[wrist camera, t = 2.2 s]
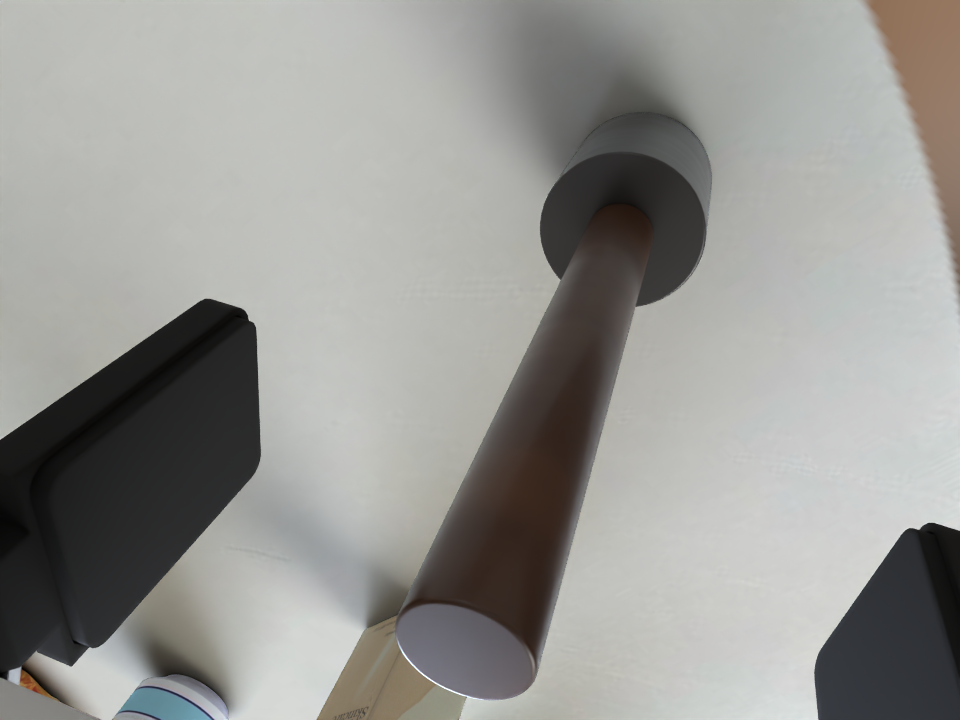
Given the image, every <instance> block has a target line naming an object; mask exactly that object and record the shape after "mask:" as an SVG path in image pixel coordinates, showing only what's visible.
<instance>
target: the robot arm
mask: <svg viewBox="0 0 960 720" xmlns="http://www.w3.org/2000/svg"><path fill="white" fill-rule="evenodd" d="M260 457H261V445H260V418H259V390H258V363H257V335H256V327H255V325H254V323H253V322H251V321H249V320H248V315H247V313H246V311H244V310H243V309H241V308H238V307H235V306H232V305H229V304H225V303H222V302H219V301H216V300H212V299H204V300H202V301H200V302H198V303H197V304H195V305H194V306H193V307H191V308H190V309H188V310H187V311H185V312H184V313H182V314H181V315H180V316H178V317H177V318H175V319H174V320H172V321H171V322H169V323H168V324H167V325H165V326H164V327H162V328H161V329H159V330H158V331H157V332H155V333H154V334H152V335H151V336H149V337H148V338H146V339H145V340H144V341H142V342H141V343H139V344H138V345H136V346H135V347H133V348H132V349H131V350H129V351H128V352H126V353H125V354H123V355H122V356H121V357H119V358H118V359H116V360H115V361H113V362H112V363H110V364H109V365H108V366H106V367H105V368H103V369H102V370H100V371H99V372H97V373H96V374H95V375H93V376H92V377H90V378H89V379H87V380H86V381H85V382H83V383H82V384H80V385H79V386H77V387H76V388H74V389H73V390H72V391H70V392H69V393H67V394H66V395H64V396H63V397H61V398H60V399H59V400H57V401H56V402H54V403H53V404H51V405H50V406H49V407H47V408H46V409H44V410H43V411H41V412H40V413H38V414H37V415H36V416H34V417H33V418H31V419H30V420H28V421H27V422H25V423H24V424H23V425H21V426H20V427H18V428H17V429H15V430H14V431H13V432H11V433H10V434H8V435H7V436H5V437H4V438H2V439H1V440H0V720H100V719H98V718H96V717H93V716H91V715H89V714H86V713H84V712H82V711H79V710H77V709H75V708H73V707H70V706H68V705H66V704H63V703H61V702H58V701H56V700H53V699H51V698H49V697H46V696H44V695H41V694H39V693H36V692H34V691H32V690H29V689H27V688H24V687H22V686H19V684H20V675H21V666H22V665H23V664H24V663H25V662H26V661H27V660H28V659H29V658H30V657H31V656H32V654H33V653H34V652H35V651H36V650H37V652H38V653H41V654H43V655H45V656H48V657H50V658H52V659H55V660H57V661H59V662H62V663H64V664H66V665H69V666H71V667H72V666H73V664H74V663H75V662H76V661H77V660H78V659H79V658H80V657H81V656H82V655H83V653H84V652H85V651H86V650H87V649H88V648H89V647H91V648H96V647H99V646H100V645H102V644H103V643H104V642H106V641H107V640H108V639H109V638H110V636H111V635H112V634H113V633H114V632H115V631H116V630H117V629H118V627H119V626H120V625H121V624H122V623H123V622H124V621H125V620H126V618H127V617H128V616H129V615H130V614H131V613H132V612H133V611H134V609H135V608H136V607H137V606H138V605H139V604H140V603H141V602H142V600H143V599H144V598H145V597H146V596H147V595H148V594H149V593H150V591H151V590H152V589H153V588H154V587H155V586H156V585H157V584H158V582H159V581H160V580H161V579H162V578H163V577H164V576H165V575H166V573H167V572H168V571H169V570H170V569H171V568H172V567H173V566H174V564H175V563H176V562H177V561H178V560H179V559H180V558H181V556H182V555H183V554H184V553H185V552H186V551H187V550H188V549H189V547H190V546H191V545H192V544H193V543H194V542H195V541H196V540H197V538H198V537H199V536H200V535H201V534H202V533H203V532H204V531H205V529H206V528H207V527H208V526H209V525H210V524H211V523H212V522H213V520H214V519H215V518H216V517H217V516H218V515H219V514H220V513H221V511H222V510H223V509H224V508H225V507H226V506H227V505H228V504H229V502H230V501H231V500H232V499H233V498H234V497H235V496H236V495H237V493H238V492H239V491H240V490H241V489H242V488H243V487H244V485H245V484H246V483H247V482H248V481H249V480H250V479H251V478H252V476H253V475H254V473H255V471H256V470H257V467H258V465H259V462H260ZM814 674H815V688H816V698H817V709H818V719H819V720H960V531H958V530H955V529H952V528H948V527H945V526H942V525H939V524H936V523H927V524H926V525H924V526H922V527H921V529H920V530H917V529H913V528H909V529H907V530H905V531H904V533H903V534H902V535H901V536H900V538H899V539H898V540H897V542H896V543H895V545H894V546H893V548H892V549H891V550H890V552H889V553H888V555H887V556H886V557H885V559H884V560H883V562H882V563H881V565H880V566H879V567H878V569H877V570H876V572H875V573H874V575H873V576H872V577H871V579H870V580H869V582H868V583H867V584H866V586H865V587H864V589H863V590H862V592H861V593H860V594H859V596H858V597H857V599H856V600H855V601H854V603H853V604H852V606H851V607H850V609H849V610H848V611H847V613H846V614H845V616H844V617H843V618H842V620H841V621H840V623H839V624H838V626H837V627H836V628H835V630H834V631H833V633H832V634H831V636H830V637H829V638H828V640H827V641H826V643H825V644H824V645H823V647H822V648H821V650H820V652H819V654H818V657H817V660H816V664H815V672H814Z"/></svg>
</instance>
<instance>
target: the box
mask: <svg viewBox="0 0 960 720" xmlns="http://www.w3.org/2000/svg"><path fill="white" fill-rule="evenodd" d="M396 617H397V615H396V616H394V617H392V618H390V619H387V620H385V621H383V622H381V623H378V624H376V625H374V626H372V627H370V628H368V629H366V630H365V631H364V632H363V634H362V635H361V637H360V639H359V641H358V643H357V645H356V647H355V649H354V651H353V653H352V654H351V656H350V658H349V660H348V662H347V664H346V666H345V667H344V669H343V671H342V673H341V675H340V677H339V679H338V681H337V682H336V684H335V686H334V688H333V690H332V692H331V693H330V695H329V697H328V699H327V701H326V703H325V705H324V706H323V708H322V710H321V712H320V714H319V716H318V718H317V720H459V717H460V715H461V712H462V709H463V706H464V703H465V701H466V698H467V696H463V695H460V694H457V693H455V692H452V691H450V690H448V689H445V688H443V687H441V686H440V685H438V684H436V683H434V682H433V681H431V680H430V679H428V678H427V677H425V676H424V675H423V674H421V673H420V672H419V671H418V670H417V669H416V668H415V667H414V666H413V665H412V664H411V663H410V662H409V661H408V660H407V659H406V657H405V656H404V654H403V653H402V651H401V649H400V647H399V645H398V643H397V640H396V635H395V622H396Z"/></svg>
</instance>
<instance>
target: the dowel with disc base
mask: <svg viewBox="0 0 960 720" xmlns="http://www.w3.org/2000/svg"><path fill="white" fill-rule="evenodd" d="M711 187H712V172H711V165H710V162H709V159H708V155H707V153H706V151H705V149H704V147H703V146H702V144H701V142H700V141H699V139H698V138H697V137H696V136H695V135H694V134H693V133H692V132H691V131H690V130H689V129H688V128H687V127H685V126H684V125H682V124H681V123H679V122H678V121H676V120H674V119H672V118H669V117H667V116H663V115H660V114H655V113H645V112H638V113H629V114H625V115H621V116H618V117H616V118H613V119H611V120H609V121H607V122H605V123H604V124H602V125H601V126H599V127H598V128H597V129H595V130H594V131H593V132H592V133H591V134H590V135H589V136H588V137H587V138H586V140H585V141H584V142H583V143H582V145H581V146H580V148H579V149H578V151H577V152H576V154H575V155H574V156H573V158H572V159H571V161H570V162H569V164H568V165H567V167H566V168H565V170H564V171H563V173H562V174H561V175H560V177H559V178H558V180H557V181H556V183H555V184H554V186H553V187H552V189H551V191H550V192H549V194H548V196H547V198H546V201H545V203H544V206H543V210H542V213H541V221H540V236H541V243H542V247H543V251H544V254H545V256H546V258H547V261H548V263H549V264H550V266H551V268H552V270H553V271H554V272H555V274H556V275H557V276H558V278H559V279H560V280H561V281H560V283H559V285H558V288H557V290H556V292H555V294H554V296H553V298H552V300H551V302H550V304H549V306H548V308H547V310H546V312H545V314H544V316H543V318H542V320H541V322H540V324H539V326H538V328H537V331H536V333H535V335H534V337H533V339H532V341H531V343H530V345H529V347H528V349H527V351H526V353H525V355H524V357H523V359H522V361H521V363H520V365H519V367H518V369H517V372H516V374H515V376H514V378H513V380H512V382H511V384H510V386H509V388H508V390H507V392H506V394H505V396H504V398H503V400H502V402H501V404H500V406H499V408H498V410H497V412H496V415H495V417H494V419H493V421H492V423H491V425H490V427H489V429H488V431H487V433H486V435H485V437H484V439H483V441H482V443H481V445H480V447H479V449H478V451H477V453H476V455H475V458H474V460H473V462H472V464H471V466H470V468H469V470H468V472H467V474H466V476H465V478H464V480H463V482H462V484H461V486H460V488H459V490H458V492H457V494H456V496H455V499H454V501H453V503H452V505H451V507H450V509H449V511H448V513H447V515H446V517H445V519H444V521H443V523H442V525H441V527H440V529H439V531H438V533H437V535H436V537H435V539H434V542H433V544H432V546H431V548H430V550H429V552H428V554H427V556H426V558H425V560H424V562H423V564H422V566H421V568H420V570H419V572H418V574H417V576H416V578H415V580H414V582H413V585H412V587H411V589H410V591H409V593H408V595H407V597H406V599H405V601H404V603H403V605H402V607H401V609H400V611H399V613H398V615H397V617H396V622H395V635H396V640H397V643H398V645H399V647H400V649H401V651H402V653H403V654H404V656H405V657H406V659H407V660H408V661H409V662H410V663H411V664H412V665H413V666H414V667H415V668H416V669H417V670H418V671H419V672H420V673H421V674H423V675H424V676H425V677H427V678H428V679H430V680H431V681H433V682H434V683H436V684H438V685H440V686H441V687H443V688H445V689H448V690H450V691H452V692H455V693H457V694H460V695H463V696H467V697H471V698H476V699H482V700H504V699H509V698H513V697H515V696H518V695H520V694H522V693H523V692H525V691H526V690H527V689H528V688H529V687H530V686H531V685H532V683H533V682H534V680H535V678H536V676H537V672H538V669H539V665H540V661H541V657H542V654H543V650H544V646H545V642H546V639H547V635H548V631H549V628H550V624H551V620H552V616H553V613H554V609H555V605H556V601H557V598H558V594H559V590H560V586H561V583H562V579H563V575H564V572H565V568H566V564H567V560H568V557H569V553H570V549H571V545H572V542H573V538H574V534H575V530H576V527H577V523H578V519H579V515H580V512H581V508H582V504H583V501H584V497H585V493H586V489H587V486H588V482H589V478H590V474H591V471H592V467H593V463H594V459H595V456H596V452H597V448H598V444H599V441H600V437H601V433H602V430H603V426H604V422H605V418H606V415H607V411H608V407H609V403H610V400H611V396H612V392H613V388H614V385H615V381H616V377H617V374H618V370H619V366H620V362H621V359H622V355H623V351H624V347H625V344H626V340H627V336H628V332H629V329H630V325H631V321H632V317H633V314H634V310H635V307H637V306H643V305H647V304H650V303H653V302H656V301H658V300H661V299H663V298H665V297H666V296H668V295H670V294H671V293H673V292H674V291H676V290H677V289H678V288H680V287H681V286H682V285H683V284H684V283H685V282H686V281H687V280H688V278H689V277H690V276H691V275H692V274H693V272H694V270H695V269H696V267H697V265H698V264H699V261H700V259H701V257H702V254H703V250H704V247H705V241H706V233H707V224H708V215H709V206H710V196H711Z"/></svg>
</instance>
